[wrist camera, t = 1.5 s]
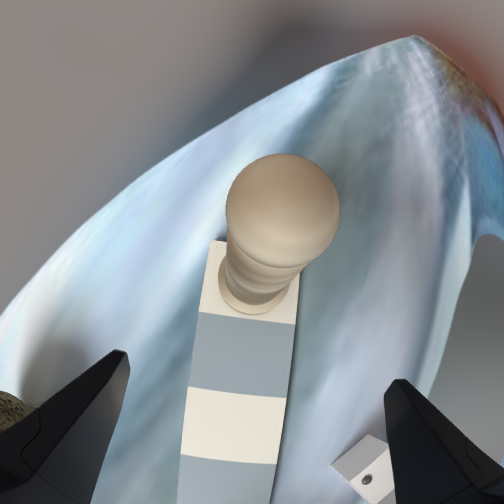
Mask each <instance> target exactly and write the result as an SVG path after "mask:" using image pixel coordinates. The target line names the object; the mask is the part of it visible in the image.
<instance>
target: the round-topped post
mask: <svg viewBox="0 0 504 504" xmlns="http://www.w3.org/2000/svg"><path fill="white" fill-rule="evenodd" d="M226 220H227V246H226V255H225V256H224V258H223V259H222V261H221V264H220V266H219V270H218V285H219V290H220V293H221V296H222V298H223V299H224V301H225V302H226V303H227V304H228V305H229V306H230V307H231V308H232V309H234V310H235V311H237V312H239V313H242V314H246V315H260V314H263V313H266V312H268V311H270V310H272V309H273V308H274V307H276V306H277V305H278V304H279V303H280V302H281V301H282V300H283V299H284V297H285V296H286V294H287V292H288V289H289V286H290V282H291V281H292V280H293V279H294V278H295V277H296V276H297V275H298V274H299V273H300V272H301V271H302V270H303V269H304V268H305V267H306V266H307V265H308V264H309V263H310V261H312V260H314V259H315V258H317V257H318V256H319V255H320V254H322V253H323V252H324V251H325V250H326V248H327V247H328V246H329V245H330V243H331V242H332V240H333V238H334V237H335V234H336V232H337V229H338V226H339V221H340V202H339V197H338V194H337V190H336V188H335V186H334V184H333V182H332V181H331V179H330V178H329V176H328V175H327V174H326V173H325V172H324V171H323V170H322V169H321V168H320V167H319V166H318V165H316V164H315V163H313V162H312V161H310V160H308V159H306V158H303V157H300V156H297V155H292V154H273V155H268V156H265V157H262V158H260V159H257V160H256V161H254V162H252V163H251V164H249V165H248V166H246V167H245V168H244V169H243V170H242V171H241V172H240V173H239V174H238V176H237V177H236V178H235V180H234V182H233V184H232V186H231V188H230V190H229V193H228V196H227V201H226Z"/></svg>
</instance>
